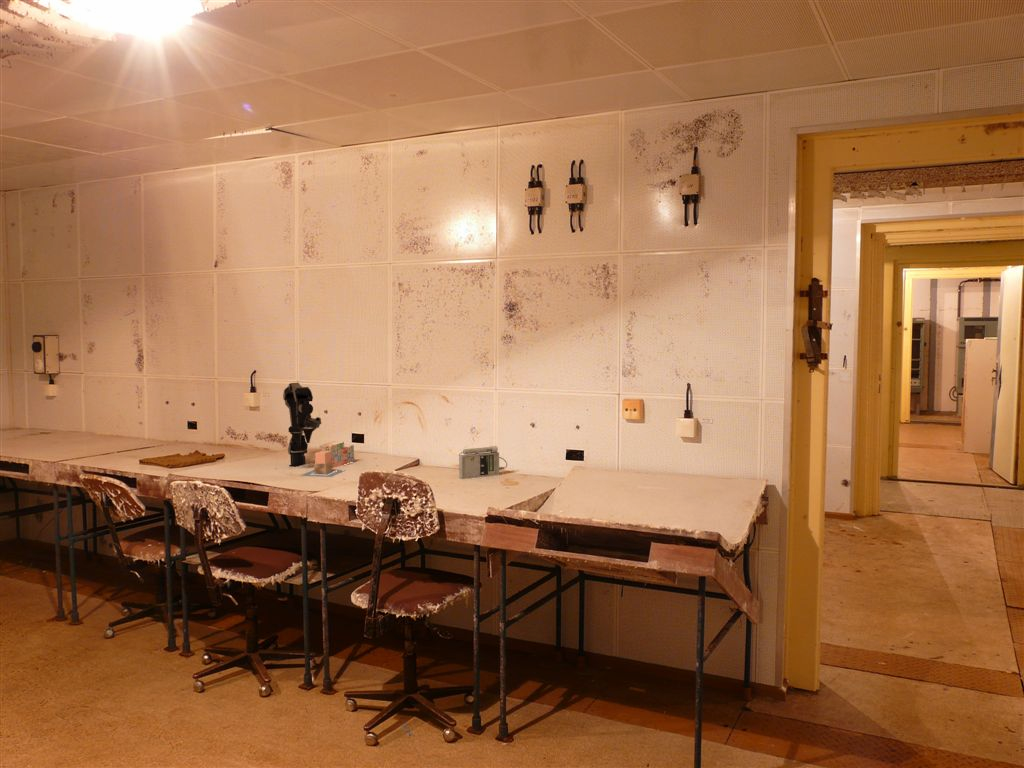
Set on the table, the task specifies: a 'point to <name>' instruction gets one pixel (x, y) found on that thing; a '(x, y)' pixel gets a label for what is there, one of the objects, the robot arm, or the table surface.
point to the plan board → (333, 473)
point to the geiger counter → (479, 462)
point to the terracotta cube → (322, 457)
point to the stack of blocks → (339, 453)
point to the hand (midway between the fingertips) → (303, 444)
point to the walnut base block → (323, 468)
